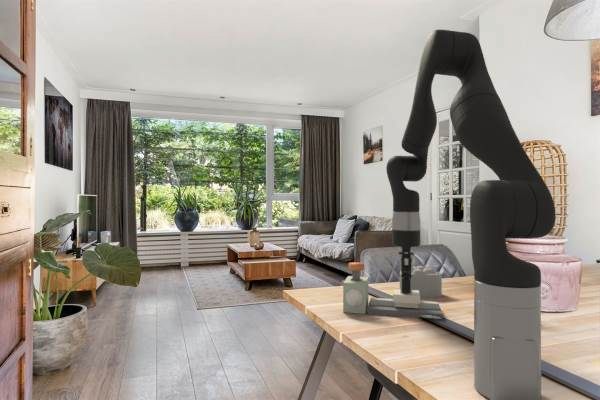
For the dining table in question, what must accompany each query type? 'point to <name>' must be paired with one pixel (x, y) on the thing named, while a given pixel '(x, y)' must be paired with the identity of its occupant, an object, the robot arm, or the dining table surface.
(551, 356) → the dining table surface
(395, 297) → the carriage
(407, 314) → the rail board
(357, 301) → the end cabinet
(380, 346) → the dining table surface
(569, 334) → the dining table surface
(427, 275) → the grey lumpy-topped block
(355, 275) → the button
